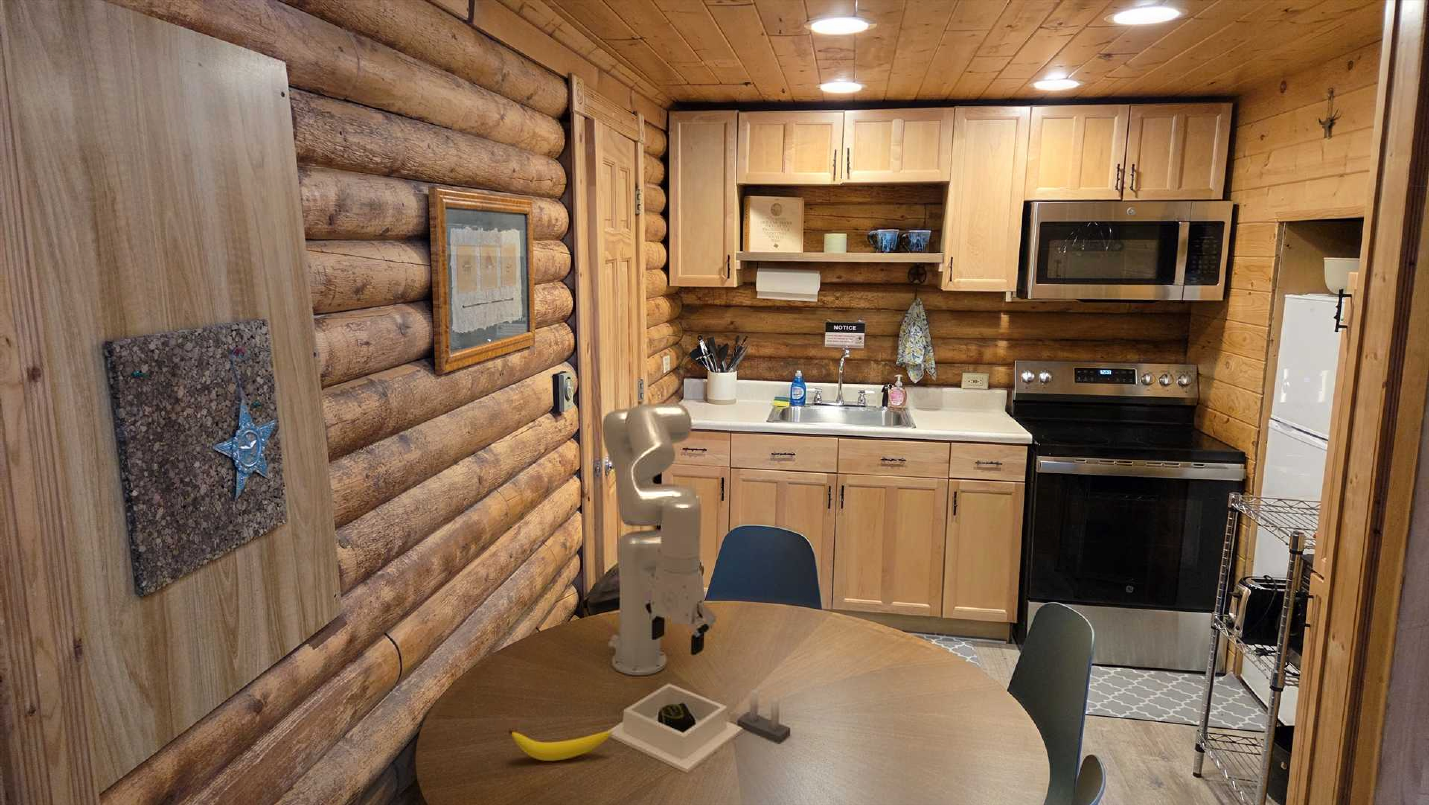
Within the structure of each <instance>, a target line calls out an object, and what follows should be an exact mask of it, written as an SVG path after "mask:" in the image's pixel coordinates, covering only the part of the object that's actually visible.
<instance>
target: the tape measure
mask: <svg viewBox="0 0 1429 805" xmlns="http://www.w3.org/2000/svg"><path fill="white" fill-rule="evenodd" d="M658 722H659V723H662V724H664V725H666V726H668V727H671V728H673V729H675V730H678V731H680V732H682V733H684V732H685V731H687V730H688V729H690V728H691V727H693V726H694V725H695V724H696V721H695V719H694V717H693V716H692V714H691V713H690V712H689V710H688V708H687V706H686V705H685V704H684V703H680V704H678V705H677V704H669V705H666V706H664V707H662V708H661V709H660V711H659V713H658Z"/></svg>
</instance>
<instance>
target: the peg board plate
mask: <svg viewBox="0 0 1429 805" xmlns="http://www.w3.org/2000/svg"><path fill="white" fill-rule="evenodd" d="M749 699H750V700H749V711H746V712H745V713H744V714H743V715H742V716H740V717H739V718H737V721H736V722H737V723H736V724H737V726H739V727H742V728H743V730H745V731H747V732H749V733H750V732H751V733H752V734H755V735H758V736H760V737H763V738H765V739H767V740H770V741H771V742H774V743H777V744H781V743H782V742H784V741H785V740H787V738H788V737H789V736H790V735H791V727H788V726H786V725H784V724H781V723H780V721H779V720H780V703H781V702H780V701H781V700H780V698H779V697H772V698H771V702H770V703H771V704H770V719H769V718H766V717H764V716H762V715H759V714H758V713H759V712H758V711H759V708H758V707H759V690H757V689H751V690H750V696H749Z"/></svg>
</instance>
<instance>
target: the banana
mask: <svg viewBox="0 0 1429 805" xmlns="http://www.w3.org/2000/svg"><path fill="white" fill-rule="evenodd" d="M612 733H613V731H610V732H609V731H608V730H606V731H603V732H602V731H601V732H599V733H595V734H591V735H587V736H584V737H581V738H575V739H569V740H561V741H554V742H553V741H552V742H550V741H548V742H544V741H542V742H541V741H537V740H534V739H531V738H529V737H527V736H525V735H523V734H521V733H518V732H513V731H512V729H508V734H510V735H511V736H512V738H513V740H514V742H515V743H516V744H517V746H518V747H519V749H521V750H522V751H523V752H524V753H526V754H527V755H529V756H530V757H531V758H533V759H536V760H540V761H546V762H548V761H549V762H550V761H553V762H554V761H561V760H566V759H570V758H571V759H572V758H574V757H577V756H580V755H583V754H584V753H588V752H590V751H591V750H594V749H596V747H598V746H600V745H601V744H603V743H605V741H606V740H608V739H609V738H610V737H609V736H610V735H611V734H612Z"/></svg>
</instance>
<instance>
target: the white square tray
mask: <svg viewBox="0 0 1429 805" xmlns="http://www.w3.org/2000/svg"><path fill="white" fill-rule="evenodd" d="M680 703H684V704H685V705H686V706H687V708H688V710H689V712H690V713H691V714H692V716H693V717H694V719H695V721H696V724H695V725H694V726H693V727H691V728H690V729H688V730H687V731H685V732H684V733H682V732H680V731H678V730H675V729H673V728H671V727H668V726H666V725H664V724H662V723H659V722H658V713H659V711H660V709H661V708H662V707H664V706H666V705H669V704H677V705H678V704H680ZM622 719H623V720H622V722H620V723H618V724H617V725H615V726H613V727H612V728H610V729H608V730H607V731H609V732H610V731H613V733H612V734H611V735H610V736H609V737H608V738H612V739H613V740H616V741H618V742H620V743H622V744H624V745H625V746H629V747H631V748H633V749H634V750H637V751H639V752H641V753H643V754H645V755H647V756H650V757H651V758H654V759H656V760H658V761H660V762H662V763H664V764H666V765H669V766H671V767H673V768H675V769H677V770H679V771H681V772H684V773H685V774H689V773H690V772H692V771H693V770H694V769H695V768H697V767H698V766H700V765H701V763H703V762H704V761H706V760H707V759H709V758H710V757H712V755H713V754H715V753H716V752H718V751H719V750H721V749H722V748H723V747H725V746H726V745H727V744H728V743H730V742H731V741H732V740H733V739H735V738H736V737H737V736H739V735H741V734H742V733H743V731H744V729H743V728H742V727H739V726H737V725H736V724H734V723H732V722H729V721H728V706H727V705H724V704H721V703H719V702H716V701H714V700H711V699H709V698H706V697H704V696H702V695H699V694H696V693H695V692H694V693H693V692H692V691H689V690H687V689H684V688H681V687H679V686H676V685H673V684H672V683H667V684H665V685H663V686H662V687H660V688H658V689H656V690H655V691H653V692H652V693H649V695H647V696H645V697H644V698H642V699H640V700H638V701H637V702H635V703H633V704H632V705H629V706H628V707H627V708H625V709H623V718H622Z"/></svg>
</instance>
